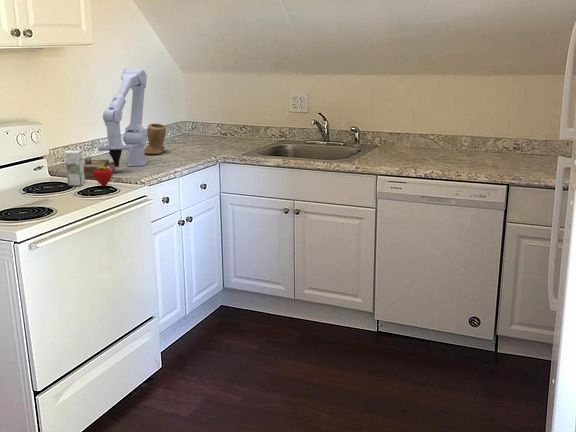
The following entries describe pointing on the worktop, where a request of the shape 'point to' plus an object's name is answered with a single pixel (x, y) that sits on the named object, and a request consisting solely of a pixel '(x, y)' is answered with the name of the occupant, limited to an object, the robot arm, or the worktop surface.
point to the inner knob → (111, 165)
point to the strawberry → (102, 175)
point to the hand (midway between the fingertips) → (117, 166)
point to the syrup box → (74, 167)
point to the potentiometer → (88, 159)
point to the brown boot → (155, 138)
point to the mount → (93, 167)
